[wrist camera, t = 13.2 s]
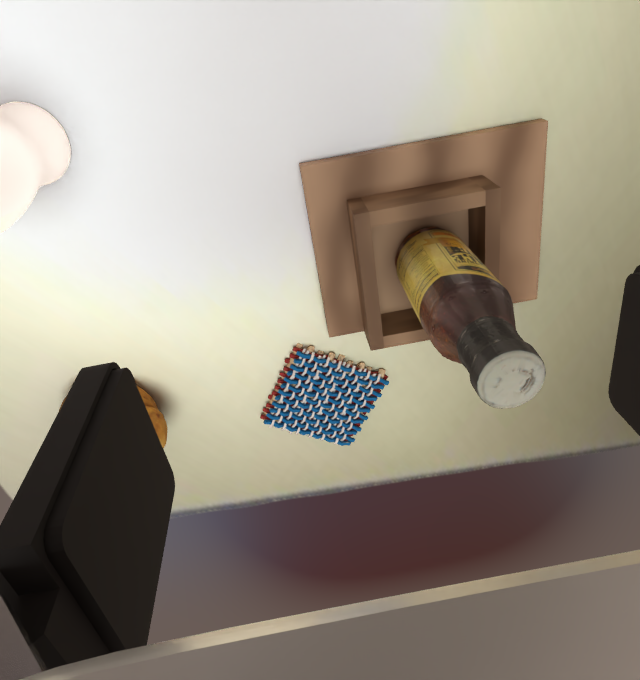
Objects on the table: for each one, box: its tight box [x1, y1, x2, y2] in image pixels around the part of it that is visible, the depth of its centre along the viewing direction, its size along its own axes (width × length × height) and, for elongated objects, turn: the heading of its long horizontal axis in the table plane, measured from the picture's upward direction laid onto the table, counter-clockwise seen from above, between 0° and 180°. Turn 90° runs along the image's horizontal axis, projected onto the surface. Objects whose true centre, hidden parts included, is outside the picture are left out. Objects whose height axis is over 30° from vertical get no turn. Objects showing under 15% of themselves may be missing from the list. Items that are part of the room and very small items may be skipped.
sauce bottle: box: [395, 227, 546, 409], centre depth 39 cm, size 7×6×20 cm
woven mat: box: [260, 343, 389, 446], centre depth 55 cm, size 10×11×2 cm
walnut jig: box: [299, 119, 548, 350], centre depth 45 cm, size 20×16×5 cm
